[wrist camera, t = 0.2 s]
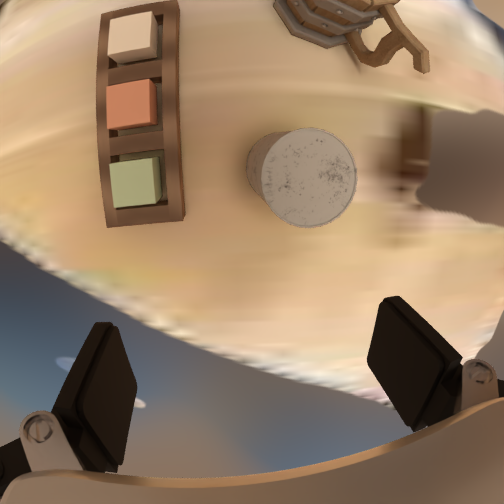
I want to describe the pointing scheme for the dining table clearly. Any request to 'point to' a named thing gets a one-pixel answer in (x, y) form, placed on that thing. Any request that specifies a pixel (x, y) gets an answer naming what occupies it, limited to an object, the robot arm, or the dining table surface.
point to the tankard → (352, 28)
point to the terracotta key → (131, 105)
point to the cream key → (133, 38)
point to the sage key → (136, 182)
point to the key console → (165, 139)
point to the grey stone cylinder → (303, 175)
